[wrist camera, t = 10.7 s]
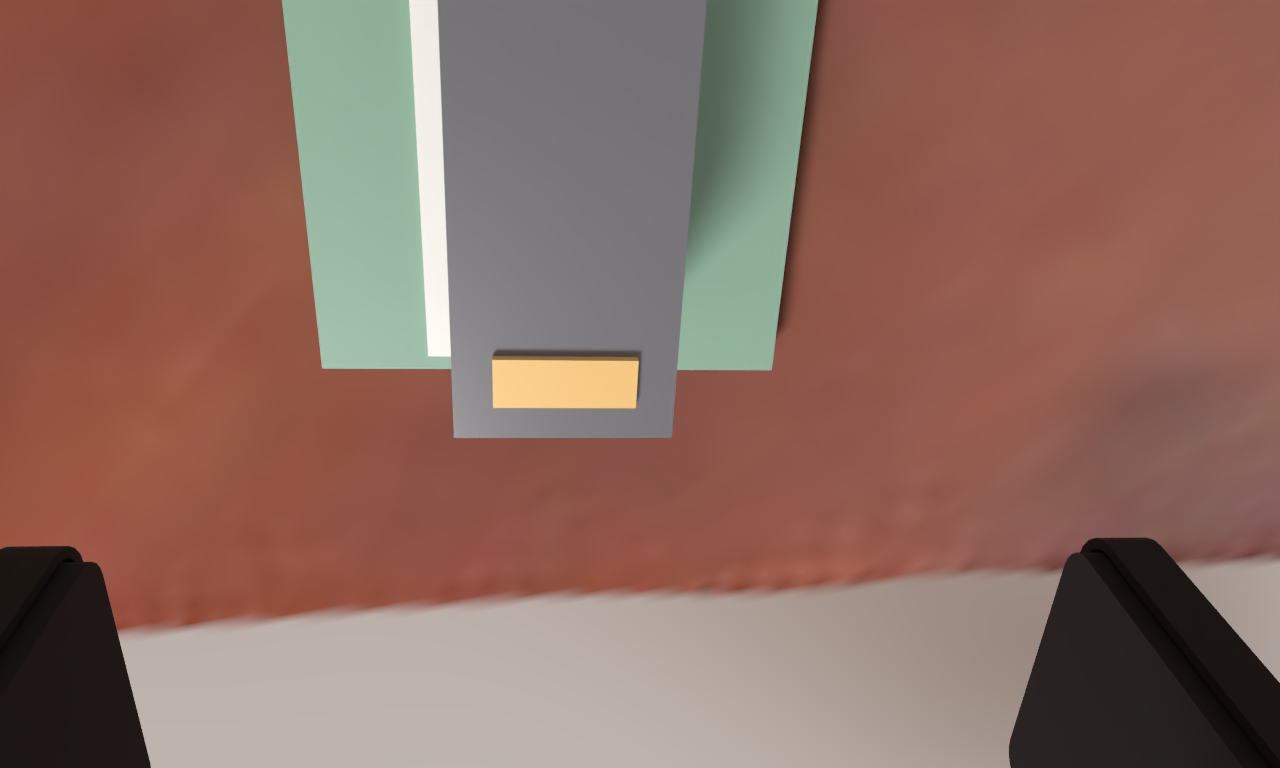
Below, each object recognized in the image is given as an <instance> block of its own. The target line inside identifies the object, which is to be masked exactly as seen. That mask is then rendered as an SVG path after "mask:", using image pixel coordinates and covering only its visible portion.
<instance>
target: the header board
mask: <svg viewBox="0 0 1280 768" xmlns="http://www.w3.org/2000/svg"><path fill="white" fill-rule="evenodd" d="M282 5H283V14H284V23H285V32H286V42H287V51H288V60H289V69H290V78H291V87H292V97H293V106H294V115H295V124H296V133H297V142H298V151H299V161H300V170H301V179H302V188H303V197H304V206H305V216H306V225H307V234H308V243H309V252H310V261H311V270H312V280H313V289H314V298H315V307H316V316H317V325H318V334H319V344H320V353H321V362H322V368H339V369H451V345H450V319H449V292H448V266H447V239H446V213H445V186H444V160H443V133H442V107H441V80H440V54H439V27H438V1H437V0H282ZM817 7H818V0H707V4H706V17H705V29H704V42H703V54H702V66H701V79H700V91H699V104H698V116H697V129H696V141H695V153H694V166H693V178H692V191H691V203H690V216H689V228H688V240H687V253H686V265H685V278H684V290H683V302H682V315H681V327H680V340H679V352H678V365H677V370H772V363H773V355H774V347H775V339H776V331H777V323H778V315H779V307H780V300H781V292H782V284H783V276H784V268H785V260H786V252H787V244H788V236H789V228H790V220H791V212H792V205H793V197H794V189H795V181H796V173H797V165H798V157H799V149H800V141H801V133H802V125H803V117H804V110H805V102H806V94H807V86H808V78H809V70H810V62H811V54H812V46H813V38H814V30H815V22H816V15H817Z"/></svg>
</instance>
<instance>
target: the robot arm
mask: <svg viewBox="0 0 1280 768" xmlns="http://www.w3.org/2000/svg"><path fill="white" fill-rule="evenodd" d="M1009 759H1010V765H1011V768H1280V683H1279V682H1278V681H1277V679H1276V678H1275V677H1274V676H1273V675H1272V674H1271V672H1270V671H1269V670H1268V669H1267V668H1266V667H1265V666H1264V665H1263V663H1262V662H1261V661H1260V660H1259V659H1258V658H1257V656H1256V655H1255V654H1254V653H1253V652H1252V651H1251V649H1250V648H1249V647H1248V646H1247V645H1246V644H1245V642H1243V640H1242V639H1241V638H1240V637H1239V635H1238V634H1237V633H1236V632H1235V631H1234V630H1233V629H1232V627H1231V626H1230V625H1229V624H1228V623H1227V622H1226V620H1225V619H1224V618H1223V617H1222V616H1221V615H1220V614H1219V612H1217V610H1216V609H1215V608H1214V607H1213V606H1212V604H1211V603H1210V602H1209V601H1208V600H1207V599H1206V597H1205V596H1204V595H1203V594H1202V593H1201V592H1200V591H1199V589H1198V588H1197V587H1196V586H1195V585H1194V583H1193V582H1192V581H1191V580H1190V579H1189V578H1188V577H1187V575H1186V574H1185V573H1184V572H1183V571H1182V570H1181V568H1180V567H1179V566H1178V565H1177V564H1176V563H1175V562H1174V560H1173V559H1172V558H1171V557H1170V556H1169V555H1168V553H1167V552H1166V551H1165V550H1164V549H1163V548H1162V546H1160V545H1159V544H1158V543H1157V542H1156V541H1154V540H1152V539H1149V538H1094V539H1091V540H1089V541H1088V542H1087V543H1086V544H1085V545H1084V546H1083V548H1082V550H1081V552H1080V553H1074V554H1071V555H1070V557H1069V558H1068V559H1067V561H1066V563H1065V566H1064V569H1063V572H1062V575H1061V579H1060V582H1059V585H1058V588H1057V592H1056V595H1055V598H1054V601H1053V604H1052V607H1051V611H1050V614H1049V617H1048V620H1047V624H1046V627H1045V630H1044V633H1043V636H1042V640H1041V643H1040V646H1039V649H1038V652H1037V656H1036V659H1035V662H1034V665H1033V668H1032V672H1031V675H1030V678H1029V681H1028V685H1027V688H1026V691H1025V694H1024V697H1023V701H1022V704H1021V707H1020V710H1019V713H1018V716H1017V720H1016V723H1015V726H1014V730H1013V733H1012V736H1011V739H1010V744H1009ZM0 768H151V766H150V761H149V757H148V753H147V749H146V745H145V741H144V737H143V733H142V729H141V725H140V721H139V717H138V713H137V709H136V705H135V701H134V697H133V693H132V689H131V685H130V681H129V677H128V673H127V669H126V665H125V661H124V657H123V653H122V650H121V645H120V641H119V637H118V633H117V629H116V625H115V621H114V617H113V613H112V609H111V605H110V602H109V598H108V594H107V590H106V586H105V582H104V578H103V574H102V571H101V569H100V567H99V566H98V565H97V563H94V562H83V560H82V557H81V555H80V553H79V552H78V551H77V550H76V549H75V548H73V547H70V546H39V547H5V548H3V549H0Z"/></svg>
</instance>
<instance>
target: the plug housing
mask: <svg viewBox="0 0 1280 768" xmlns="http://www.w3.org/2000/svg"><path fill="white" fill-rule="evenodd" d="M437 1H438V27H439V54H440V80H441V107H442V133H443V160H444V186H445V213H446V239H447V266H448V292H449V319H450V345H451V372H452V398H453V425H454V438H672V427H673V414H674V402H675V389H676V377H677V365H678V352H679V340H680V327H681V315H682V302H683V290H684V278H685V265H686V253H687V240H688V228H689V216H690V203H691V191H692V178H693V166H694V153H695V141H696V129H697V116H698V104H699V91H700V79H701V66H702V54H703V42H704V29H705V17H706V4H707V0H437Z"/></svg>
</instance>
